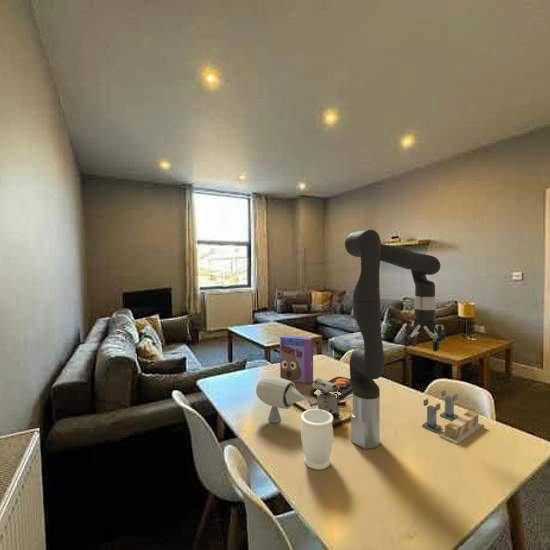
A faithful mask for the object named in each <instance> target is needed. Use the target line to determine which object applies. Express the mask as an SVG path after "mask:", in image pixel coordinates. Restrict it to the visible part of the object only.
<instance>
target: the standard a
mask: <svg viewBox="0 0 550 550" xmlns="http://www.w3.org/2000/svg"><path fill="white" fill-rule="evenodd" d="M423 406H424V407H426V421H425V422H424V423H422V424H421V427H422V428H424V429H426V430H428V431H431V432H433V433H436V432H438V431H439V430H441V429H442V425H440V424H438V423H437V411H439V410H441V403H440V402H438V403H436V404H435V405H431V404H430V405H429V399H428V398H425V399H424V400H423Z"/></svg>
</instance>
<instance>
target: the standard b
mask: <svg viewBox="0 0 550 550" xmlns="http://www.w3.org/2000/svg"><path fill="white" fill-rule="evenodd" d="M458 395H459V394H457V393H455V394H453V397H452V396H449V395H448V396H447V390H442V391H441V397H443V398H444V397H445V398H444V412H442V413H440V414H439V416H440V418H441V417H442V418H443V419H447V420H449V421H450V422H452V421H454V420H455V419H457V418H458V417H460V416H459V414H456V413H455V401H457V400H459V399H458V398H459V397H458Z"/></svg>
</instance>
